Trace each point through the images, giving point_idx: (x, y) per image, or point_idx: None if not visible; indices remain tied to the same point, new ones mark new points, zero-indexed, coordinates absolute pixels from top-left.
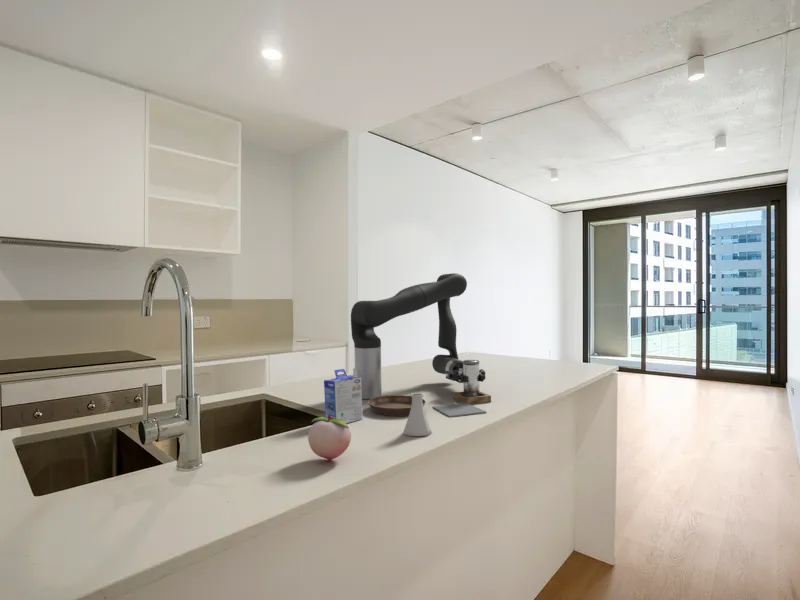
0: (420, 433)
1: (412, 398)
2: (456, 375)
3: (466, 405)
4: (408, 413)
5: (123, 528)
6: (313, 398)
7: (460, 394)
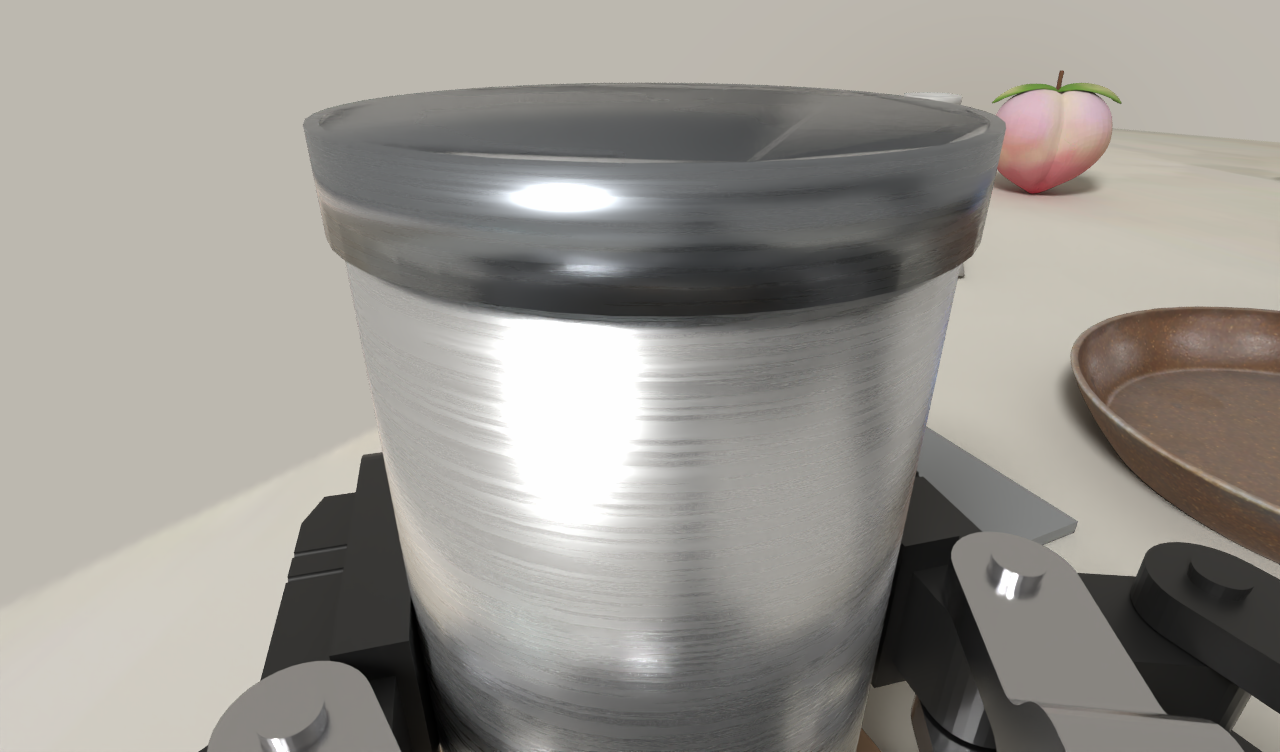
0: None
1: None
2: (1088, 580)
3: None
4: (1121, 376)
5: (1114, 141)
6: None
7: None
